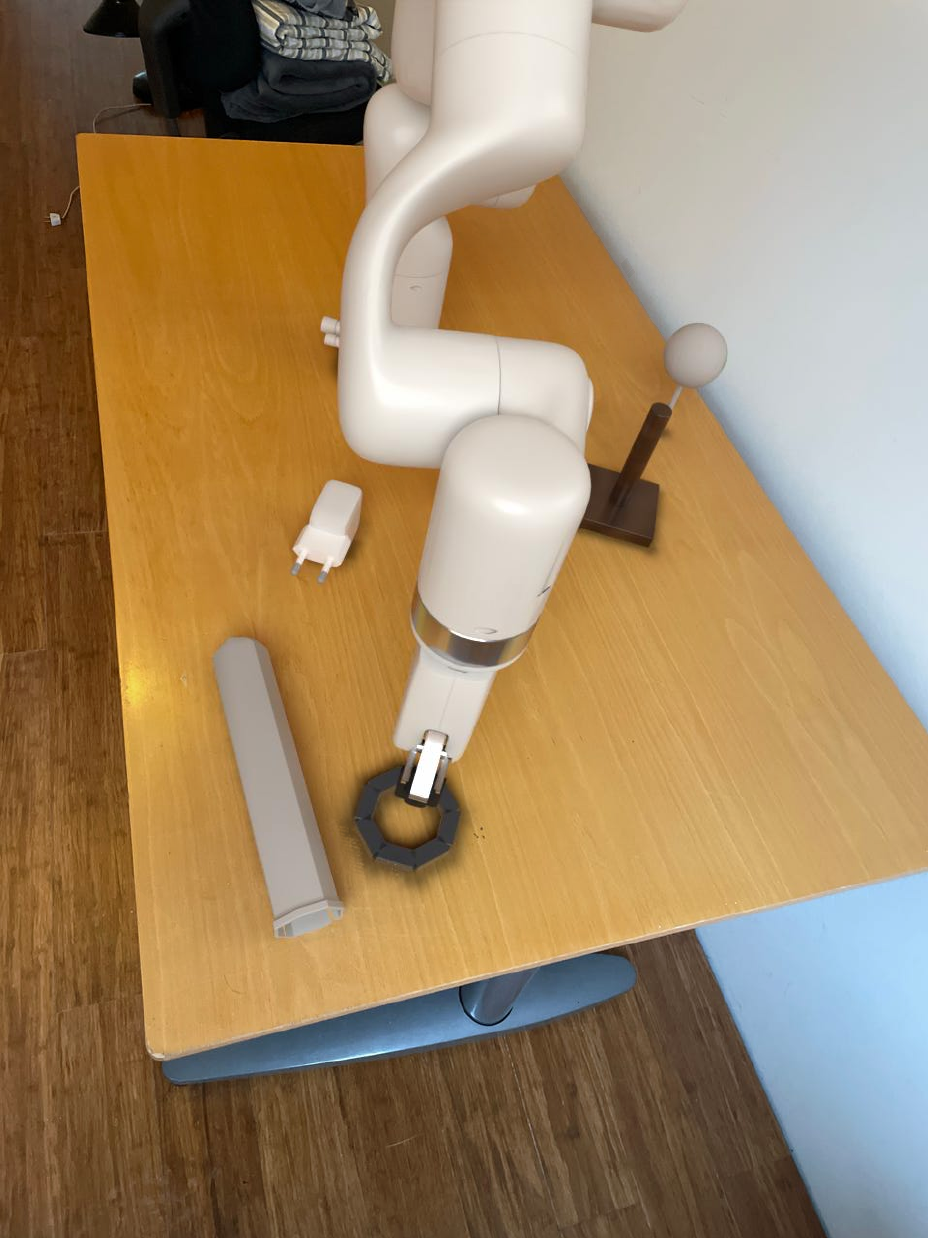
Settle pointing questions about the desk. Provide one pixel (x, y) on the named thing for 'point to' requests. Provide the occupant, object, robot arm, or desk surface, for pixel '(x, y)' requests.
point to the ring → (394, 853)
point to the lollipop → (694, 357)
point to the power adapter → (329, 527)
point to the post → (628, 488)
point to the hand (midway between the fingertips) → (432, 741)
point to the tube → (275, 791)
